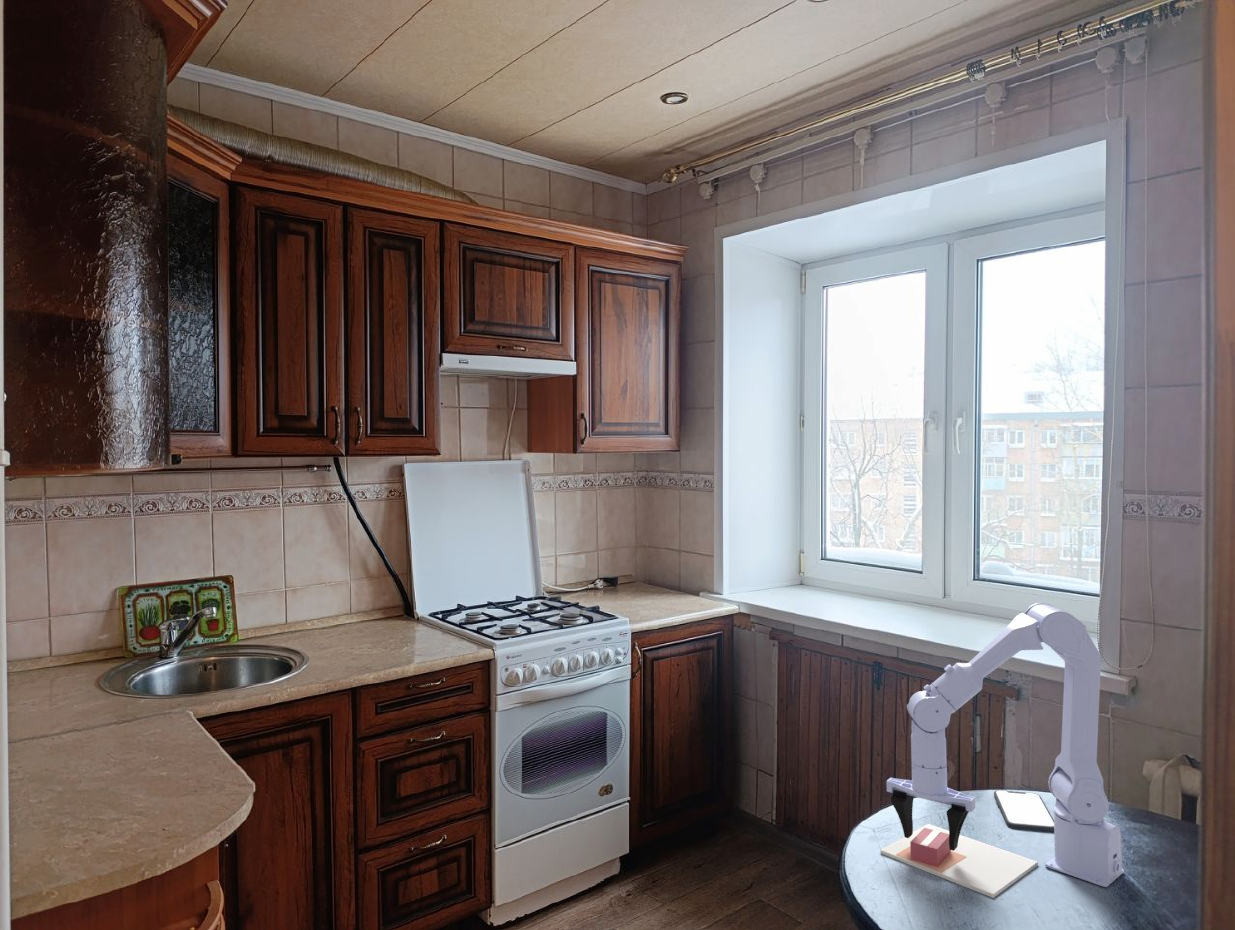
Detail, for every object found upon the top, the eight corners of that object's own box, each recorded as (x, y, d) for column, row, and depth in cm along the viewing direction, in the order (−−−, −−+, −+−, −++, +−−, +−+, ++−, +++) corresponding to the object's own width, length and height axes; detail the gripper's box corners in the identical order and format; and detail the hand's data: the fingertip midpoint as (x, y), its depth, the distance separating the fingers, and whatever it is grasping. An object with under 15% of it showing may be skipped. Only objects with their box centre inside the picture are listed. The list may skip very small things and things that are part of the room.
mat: (1038, 865, 137) (1037, 861, 137) (993, 897, 127) (993, 893, 127) (928, 826, 153) (928, 823, 153) (880, 853, 142) (880, 849, 142)
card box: (937, 867, 136) (937, 848, 136) (910, 859, 139) (910, 841, 139) (950, 851, 141) (950, 833, 141) (924, 844, 144) (924, 827, 144)
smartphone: (1059, 836, 149) (1039, 800, 165) (1059, 828, 149) (1039, 792, 165) (1007, 831, 152) (992, 796, 167) (1007, 823, 152) (992, 789, 167)
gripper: (979, 765, 139) (981, 845, 138) (896, 748, 148) (897, 822, 148) (967, 777, 133) (969, 860, 133) (881, 759, 142) (882, 836, 142)
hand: (930, 841), depth 140 cm, fingers open, 7 cm apart
